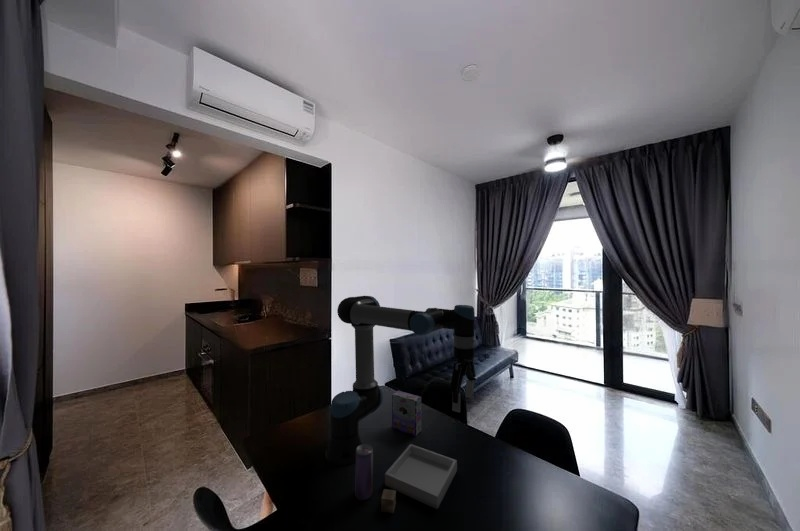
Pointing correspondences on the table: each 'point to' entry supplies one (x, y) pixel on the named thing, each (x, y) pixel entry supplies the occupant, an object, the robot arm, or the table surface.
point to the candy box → (406, 412)
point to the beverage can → (364, 472)
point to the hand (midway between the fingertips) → (463, 404)
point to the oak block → (388, 501)
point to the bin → (422, 475)
